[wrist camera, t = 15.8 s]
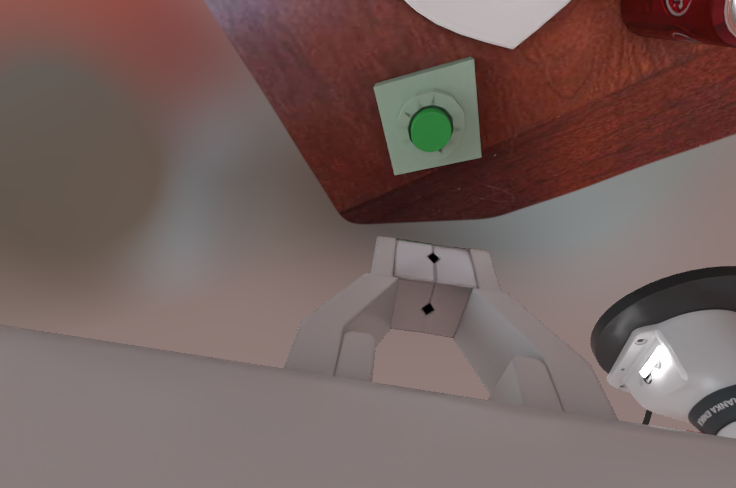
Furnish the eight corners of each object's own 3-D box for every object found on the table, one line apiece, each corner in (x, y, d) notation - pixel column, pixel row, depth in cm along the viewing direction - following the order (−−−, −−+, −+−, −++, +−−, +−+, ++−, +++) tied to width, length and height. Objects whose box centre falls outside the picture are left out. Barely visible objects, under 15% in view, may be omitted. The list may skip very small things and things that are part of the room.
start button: (452, 142, 34) (453, 147, 33) (414, 150, 35) (414, 156, 34) (447, 102, 32) (448, 107, 30) (407, 112, 33) (407, 117, 31)
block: (478, 150, 38) (484, 163, 35) (395, 168, 40) (393, 182, 37) (471, 56, 32) (477, 61, 29) (375, 83, 35) (371, 90, 32)
